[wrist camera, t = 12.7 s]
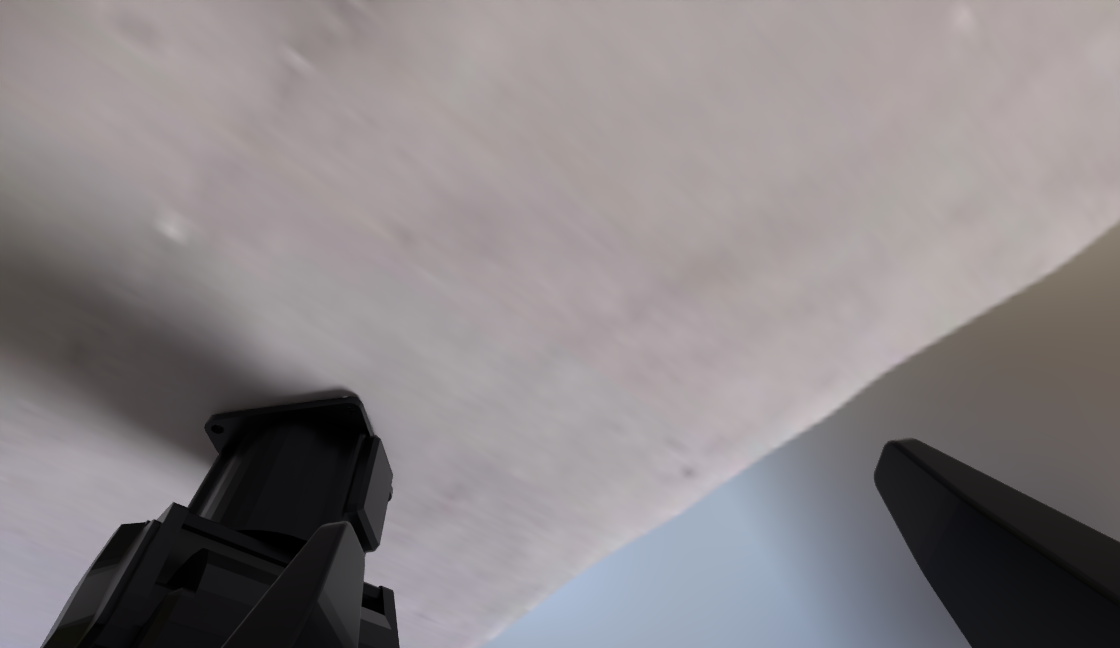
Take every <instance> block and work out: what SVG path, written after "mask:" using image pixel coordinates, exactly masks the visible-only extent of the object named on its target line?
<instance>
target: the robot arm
mask: <svg viewBox="0 0 1120 648" xmlns="http://www.w3.org/2000/svg"><path fill="white" fill-rule="evenodd" d="M347 407H351V408H354V409H355V410H349V409H347ZM217 425H220V426H222V427H219V426H217ZM204 428H205V431H206V433H207V434H208V436H209V438H210V440H211V441H212V443H213V445H214V447H215V448H216V450H217V452H218V453H219V455H218V457H217V458H216V460H215V462H214V463H213V465H212V467H211V469H210V470H209V472H208V474H207V475H206V477H205V479H204V480H203V482H202V484H201V485H200V487H199V489H198V490H197V492H196V494H195V495H194V497H193V499H192V500H191V502H190V504H189V505H188V507H185V506H182V505H180V504H177V503H175V502H173V503H172V504H171V505H170V506H169V507H168V508H167V509H166V510H165V511H164V513H163V514H162V515H161V516H160V517H159V518H158V519H157V520H155V519H154V520H152V521H149V520H147V521H146V522H143V523H132V524H122V525H121V526H120V527H119V528H118V529H117V530H116V531H115V532H114V533H113V535H112V536H111V538H110V539H109V540H108V542H107V543H106V545H105V546H104V547H103V549H102V550H101V552H100V553H99V554H98V556H97V557H96V559H95V560H94V562H93V563H92V564H91V566H90V567H89V569H88V570H87V572H86V573H85V574H84V576H83V577H82V579H81V580H80V582H79V583H78V585H77V586H76V588H75V589H74V591H73V593H72V594H71V596H70V597H69V599H68V601H67V603H66V604H65V606H64V608H63V609H62V611H61V613H60V615H59V616H58V618H57V620H56V622H55V623H54V625H53V627H52V628H51V630H50V632H49V634H48V635H47V637H46V639H45V641H44V642H43V644H42V646H41V647H40V648H400V647H399V638H398V629H397V620H396V610H395V601H394V592H393V590H391V589H388V588H386V587H383V586H379V587H376V586H374V585H371V584H369V583H366V582H364V570H365V555H366V553H367V552H373V551H375V550H376V549H377V548H378V546H379V545H380V540H381V535H382V530H383V525H384V520H385V515H386V509H387V504H388V502H389V501H390V500H391V498H392V493H393V489H392V486H391V483H392V478H393V473H392V470H391V468H390V465H389V462H388V459H387V456H386V453H385V450H384V447H383V444H382V441H381V439H380V438H379V437H378V436H377V435H374V434H373V431H372V428H371V425H370V422H369V420H368V417H367V414H366V411H365V408H364V405H363V403H362V402H361V401H360V400H359V399H358V398H355V397H344V398H337V399H329V400H321V401H314V402H306V403H298V404H291V405H283V406H275V407H268V408H260V409H252V410H245V411H237V412H229V413H222V414H216V415H212V416H211V417H210V418H209V420H208V421H207V423H206V424H205V427H204ZM874 481H875V485H876V487H877V490H878V491H879V493H880V495H881V497H882V499H883V501H884V503H885V504H886V506H887V508H888V510H889V512H890V514H891V515H892V517H893V519H894V521H895V523H896V525H897V527H898V528H899V531H900V532H901V534H902V536H903V538H904V540H905V542H906V543H907V545H908V547H909V549H910V551H911V553H912V555H913V557H914V558H915V560H916V562H917V564H918V565H919V567H920V569H921V570H922V572H923V574H924V576H925V577H926V579H927V580H928V582H929V583H930V585H931V587H932V588H933V590H934V591H935V592H936V594H937V596H938V597H939V599H940V600H941V602H942V603H943V605H944V606H945V608H946V609H947V611H948V612H949V614H950V615H951V617H952V618H953V620H954V621H955V623H956V624H957V626H958V627H959V629H960V630H961V632H962V633H963V635H964V636H965V638H966V639H967V641H968V642H969V644H970V646H971V647H972V648H1120V542H1119V541H1117V540H1115V539H1113V538H1111V537H1109V536H1107V535H1105V534H1103V533H1101V532H1099V531H1097V530H1095V529H1093V528H1091V527H1089V526H1087V525H1085V524H1083V523H1081V522H1079V521H1077V520H1075V519H1073V518H1071V517H1069V516H1067V515H1065V514H1063V513H1061V512H1059V511H1057V510H1055V509H1053V508H1051V507H1049V506H1047V505H1045V504H1043V503H1042V502H1039V501H1038V500H1036V499H1034V498H1032V497H1030V496H1028V495H1026V494H1023V493H1022V492H1020V491H1018V490H1016V489H1014V488H1012V487H1010V486H1008V485H1006V484H1004V483H1002V482H1000V481H998V480H996V479H994V478H992V477H990V476H988V475H986V474H984V473H982V472H980V471H978V470H976V469H974V468H972V467H970V466H968V465H966V464H965V463H962V462H960V461H959V460H957V459H955V458H953V457H951V456H949V455H947V454H945V453H943V452H941V451H939V450H937V449H935V448H933V447H931V446H929V445H927V444H925V443H923V442H921V441H919V440H917V439H914V438H903V439H895V440H890V441H888V442H887V443H885V445H884V447H883V450H882V452H881V455H880V458H879V460H878V463H877V466H876V468H875V471H874Z"/></svg>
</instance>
